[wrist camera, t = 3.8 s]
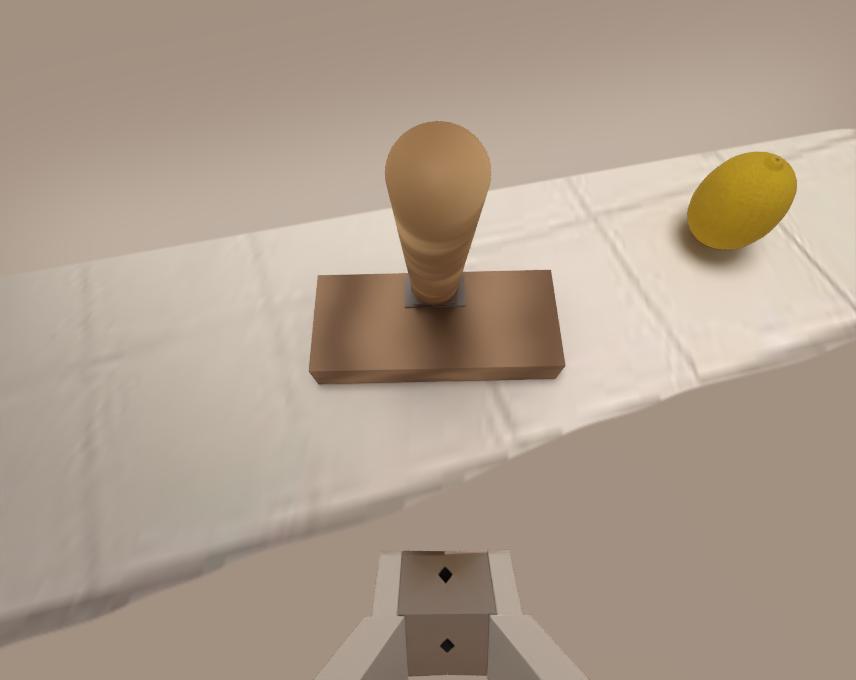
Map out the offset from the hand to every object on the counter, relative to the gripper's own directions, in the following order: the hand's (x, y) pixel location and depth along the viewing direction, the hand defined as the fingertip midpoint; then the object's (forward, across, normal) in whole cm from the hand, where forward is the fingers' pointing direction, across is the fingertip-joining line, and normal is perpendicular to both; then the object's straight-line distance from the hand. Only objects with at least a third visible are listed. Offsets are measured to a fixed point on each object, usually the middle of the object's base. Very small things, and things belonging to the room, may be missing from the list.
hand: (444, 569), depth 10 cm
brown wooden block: (+22, 0, +2) cm, 22 cm away
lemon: (+27, -21, -3) cm, 34 cm away
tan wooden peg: (+21, 0, -2) cm, 21 cm away
